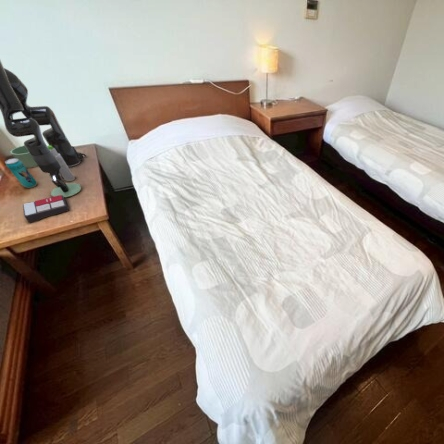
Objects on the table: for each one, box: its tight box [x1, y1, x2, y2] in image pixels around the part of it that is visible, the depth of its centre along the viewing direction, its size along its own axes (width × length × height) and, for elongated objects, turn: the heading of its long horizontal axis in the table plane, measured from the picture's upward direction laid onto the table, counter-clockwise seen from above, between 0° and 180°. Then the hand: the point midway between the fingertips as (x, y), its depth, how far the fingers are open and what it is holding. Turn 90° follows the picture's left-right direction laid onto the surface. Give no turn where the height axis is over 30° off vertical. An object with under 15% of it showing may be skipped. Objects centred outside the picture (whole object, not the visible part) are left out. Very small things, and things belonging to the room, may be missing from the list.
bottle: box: [47, 144, 76, 182], centre depth 133 cm, size 4×4×20 cm
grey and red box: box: [22, 195, 70, 223], centre depth 119 cm, size 11×4×15 cm
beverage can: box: [4, 157, 38, 189], centre depth 128 cm, size 6×6×15 cm
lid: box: [50, 182, 82, 199], centre depth 130 cm, size 13×13×6 cm
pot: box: [9, 144, 39, 169], centre depth 146 cm, size 12×12×8 cm
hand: (65, 189), depth 131 cm, fingers closed on lid, 2 cm apart
